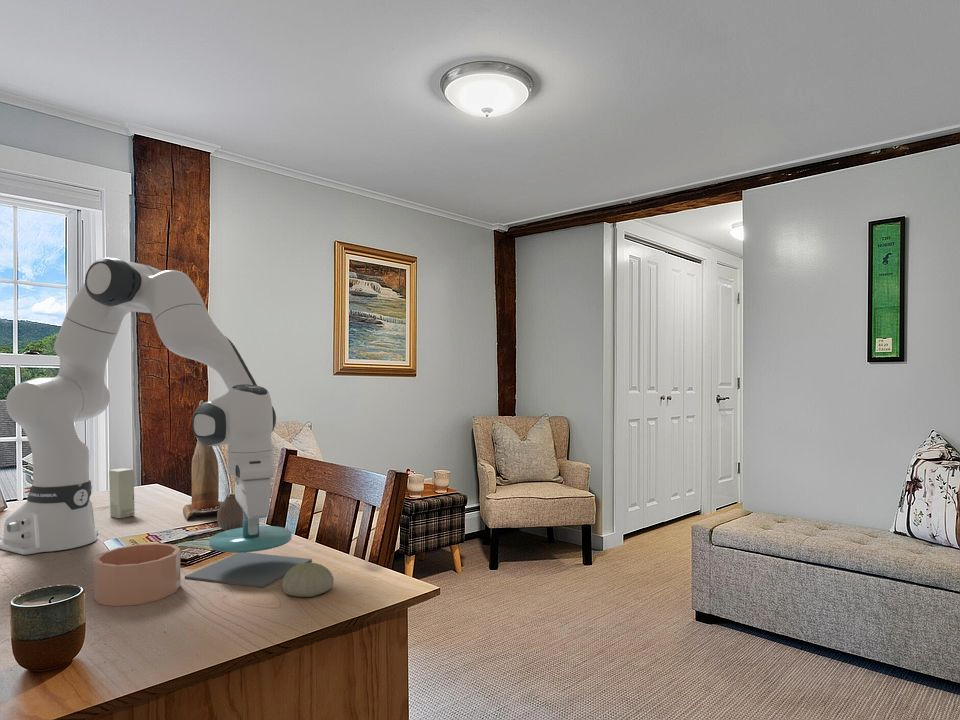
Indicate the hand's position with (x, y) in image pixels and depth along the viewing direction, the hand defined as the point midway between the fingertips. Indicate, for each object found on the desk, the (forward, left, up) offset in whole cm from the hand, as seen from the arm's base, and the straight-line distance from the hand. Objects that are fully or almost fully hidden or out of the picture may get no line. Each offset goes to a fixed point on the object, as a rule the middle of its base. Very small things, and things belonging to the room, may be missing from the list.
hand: (250, 531), depth 134 cm
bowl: (-12, -17, -8) cm, 22 cm away
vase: (-24, +25, -8) cm, 36 cm away
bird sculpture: (-41, +36, -8) cm, 56 cm away
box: (-62, +28, -8) cm, 68 cm away
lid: (0, 0, -2) cm, 2 cm away
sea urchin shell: (+18, -7, -8) cm, 21 cm away
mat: (0, 0, -8) cm, 8 cm away
